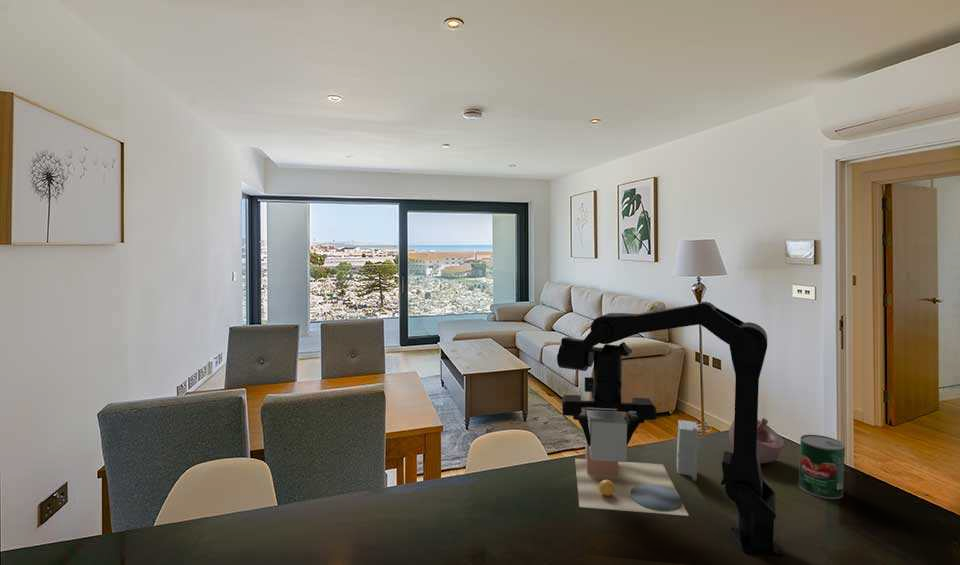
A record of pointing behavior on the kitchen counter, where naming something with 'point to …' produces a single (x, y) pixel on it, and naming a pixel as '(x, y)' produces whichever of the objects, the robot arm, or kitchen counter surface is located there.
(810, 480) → the canned tomato
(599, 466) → the pink sandstone cube
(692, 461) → the skincare box
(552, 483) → the kitchen counter surface
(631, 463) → the oak board
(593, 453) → the pale slate cube
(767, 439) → the mortar and pestle
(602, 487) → the amber marble
